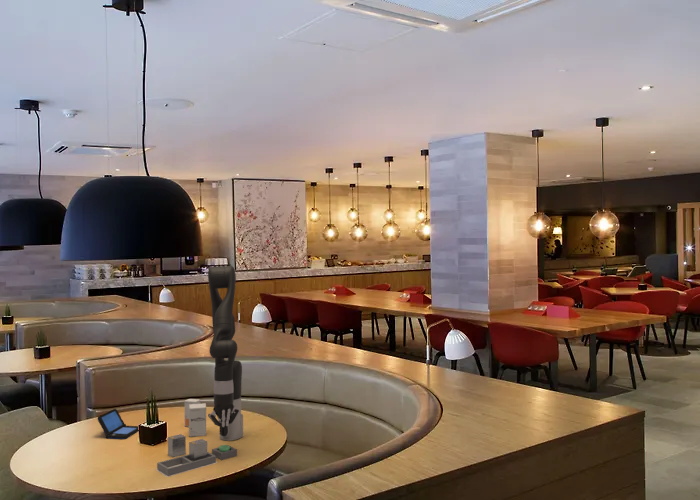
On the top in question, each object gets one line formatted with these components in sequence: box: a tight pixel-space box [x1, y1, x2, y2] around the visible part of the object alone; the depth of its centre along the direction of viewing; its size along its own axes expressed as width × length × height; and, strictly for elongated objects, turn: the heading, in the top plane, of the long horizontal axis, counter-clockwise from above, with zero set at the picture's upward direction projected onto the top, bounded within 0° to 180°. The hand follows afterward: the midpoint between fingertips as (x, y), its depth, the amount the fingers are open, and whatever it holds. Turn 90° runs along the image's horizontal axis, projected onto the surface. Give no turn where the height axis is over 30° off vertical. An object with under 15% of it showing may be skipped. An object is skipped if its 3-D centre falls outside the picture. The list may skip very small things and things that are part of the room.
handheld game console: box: [97, 408, 139, 440], centre depth 269 cm, size 16×13×9 cm
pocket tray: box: [155, 451, 219, 478], centre depth 227 cm, size 20×10×4 cm, turn 133°
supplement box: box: [188, 402, 207, 438], centre depth 267 cm, size 7×7×13 cm
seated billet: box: [188, 438, 208, 462], centre depth 230 cm, size 6×4×8 cm
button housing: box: [211, 445, 238, 461], centre depth 238 cm, size 7×7×4 cm
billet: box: [167, 433, 187, 458], centre depth 239 cm, size 6×4×8 cm
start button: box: [218, 444, 230, 452], centre depth 238 cm, size 4×4×2 cm
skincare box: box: [184, 398, 201, 428], centre depth 279 cm, size 6×4×12 cm
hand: (223, 435), depth 237 cm, fingers closed
